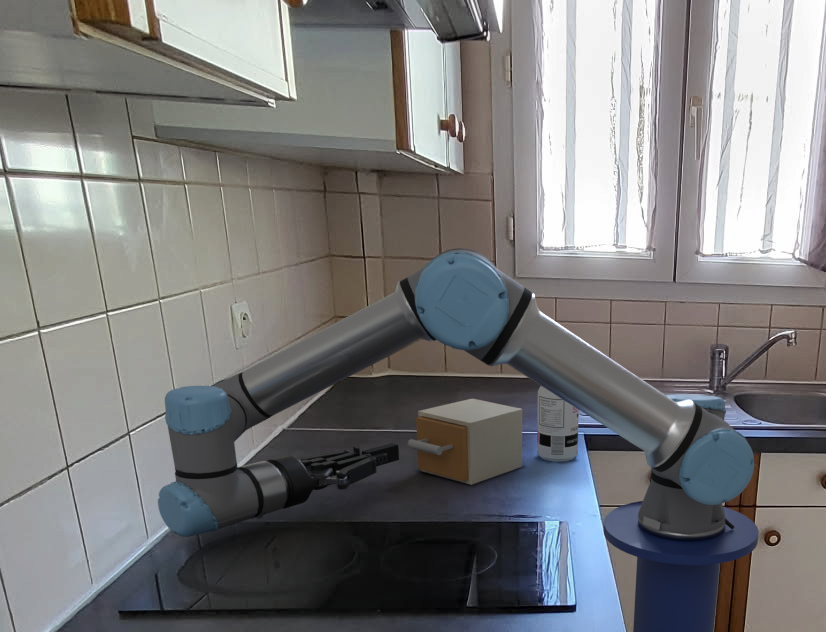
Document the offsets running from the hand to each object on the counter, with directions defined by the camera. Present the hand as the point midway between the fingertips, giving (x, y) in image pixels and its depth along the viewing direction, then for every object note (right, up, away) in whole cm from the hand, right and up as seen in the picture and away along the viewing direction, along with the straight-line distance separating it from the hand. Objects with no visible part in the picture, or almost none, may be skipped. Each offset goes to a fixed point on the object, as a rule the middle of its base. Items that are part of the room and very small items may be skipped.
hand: (395, 451), depth 141 cm
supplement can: (+24, +1, +29) cm, 38 cm away
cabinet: (+9, -2, +18) cm, 20 cm away
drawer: (+7, -2, +15) cm, 16 cm away
